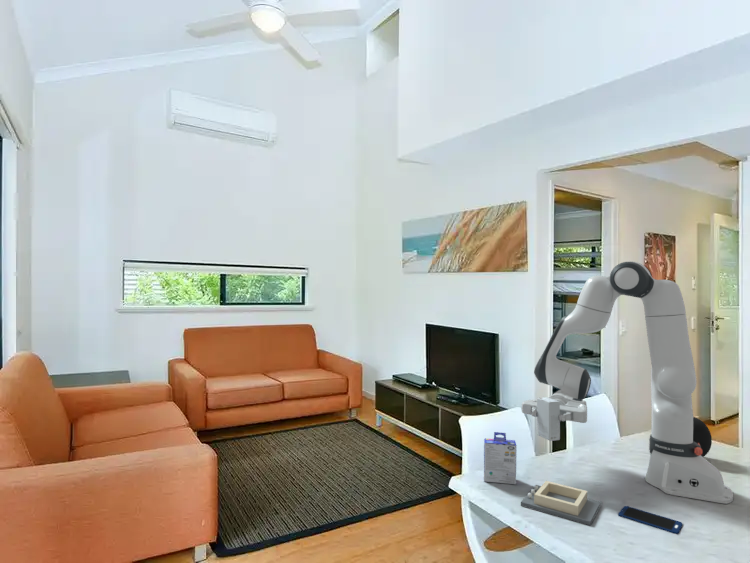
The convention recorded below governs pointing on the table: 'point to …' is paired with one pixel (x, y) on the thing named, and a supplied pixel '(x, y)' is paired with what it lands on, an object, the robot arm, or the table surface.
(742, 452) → the table surface
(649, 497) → the table surface
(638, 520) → the cell phone
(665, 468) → the robot arm
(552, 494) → the socket dock
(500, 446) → the ink cartridge box
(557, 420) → the skincare box
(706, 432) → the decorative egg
